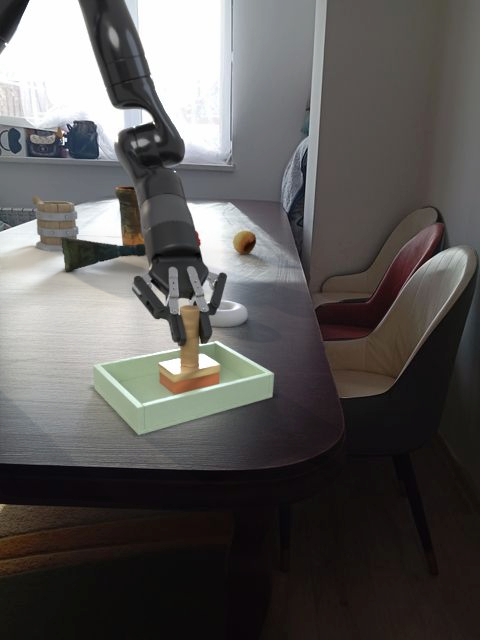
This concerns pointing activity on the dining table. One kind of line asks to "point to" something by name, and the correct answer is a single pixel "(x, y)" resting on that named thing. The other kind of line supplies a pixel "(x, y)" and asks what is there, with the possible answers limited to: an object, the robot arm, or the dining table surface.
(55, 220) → the tankard
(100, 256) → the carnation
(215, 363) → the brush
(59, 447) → the dining table surface
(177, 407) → the tray
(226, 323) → the donut
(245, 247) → the fruit
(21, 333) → the dining table surface
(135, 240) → the vessel
